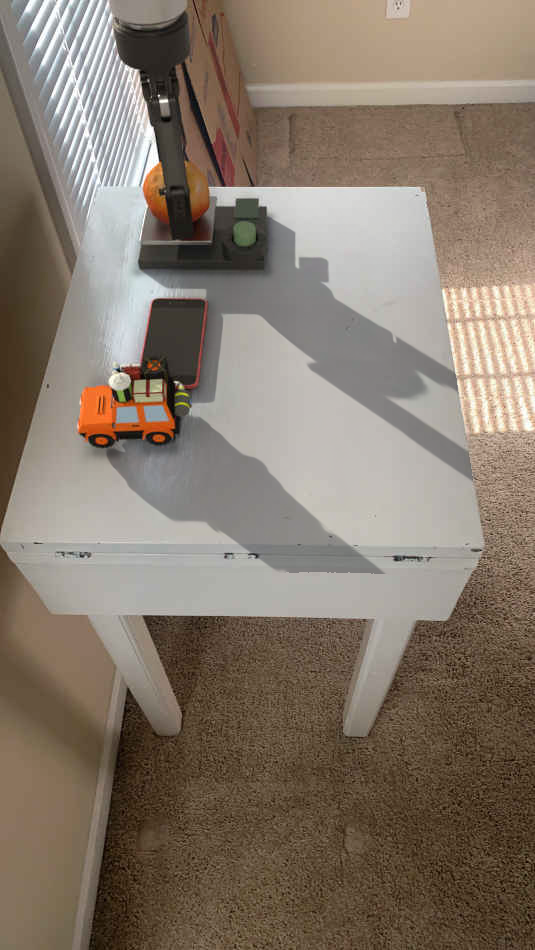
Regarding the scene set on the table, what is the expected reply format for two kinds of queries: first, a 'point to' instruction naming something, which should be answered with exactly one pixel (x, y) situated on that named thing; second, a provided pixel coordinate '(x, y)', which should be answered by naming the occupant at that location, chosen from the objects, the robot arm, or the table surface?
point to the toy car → (134, 405)
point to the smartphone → (177, 336)
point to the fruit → (158, 203)
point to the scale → (212, 248)
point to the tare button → (244, 233)
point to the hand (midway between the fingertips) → (176, 202)
